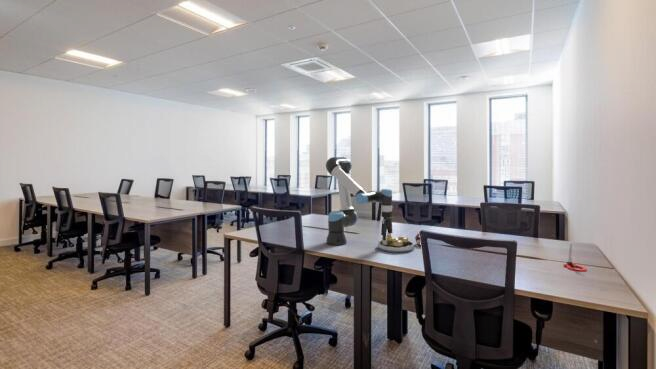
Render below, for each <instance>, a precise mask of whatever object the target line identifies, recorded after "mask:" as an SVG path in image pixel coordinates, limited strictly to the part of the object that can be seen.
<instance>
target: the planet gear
mask: <svg viewBox="0 0 656 369" xmlns="http://www.w3.org/2000/svg"><path fill="white" fill-rule="evenodd" d="M386 236H387V235H386ZM393 239H394V238H393V236H392V235H391V236H387V245H391V244H392V241H393ZM381 240H382V244H383V236H381Z"/></svg>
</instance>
